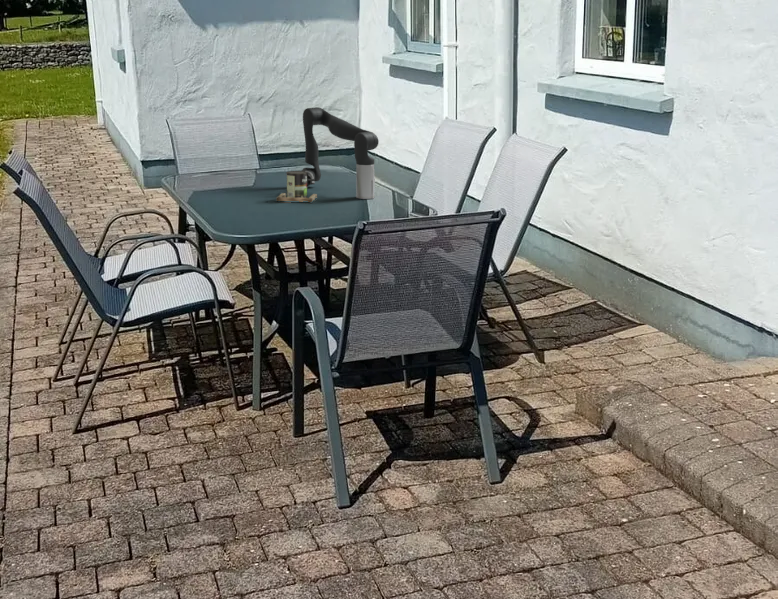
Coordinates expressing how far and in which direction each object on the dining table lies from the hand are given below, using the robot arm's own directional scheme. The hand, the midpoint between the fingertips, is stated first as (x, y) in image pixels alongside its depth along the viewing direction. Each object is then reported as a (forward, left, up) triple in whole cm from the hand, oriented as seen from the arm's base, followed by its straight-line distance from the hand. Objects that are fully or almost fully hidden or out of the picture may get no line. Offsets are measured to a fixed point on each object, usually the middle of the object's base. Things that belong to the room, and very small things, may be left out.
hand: (299, 184), depth 500 cm
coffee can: (0, +7, -7) cm, 10 cm away
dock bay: (0, +7, -7) cm, 10 cm away
